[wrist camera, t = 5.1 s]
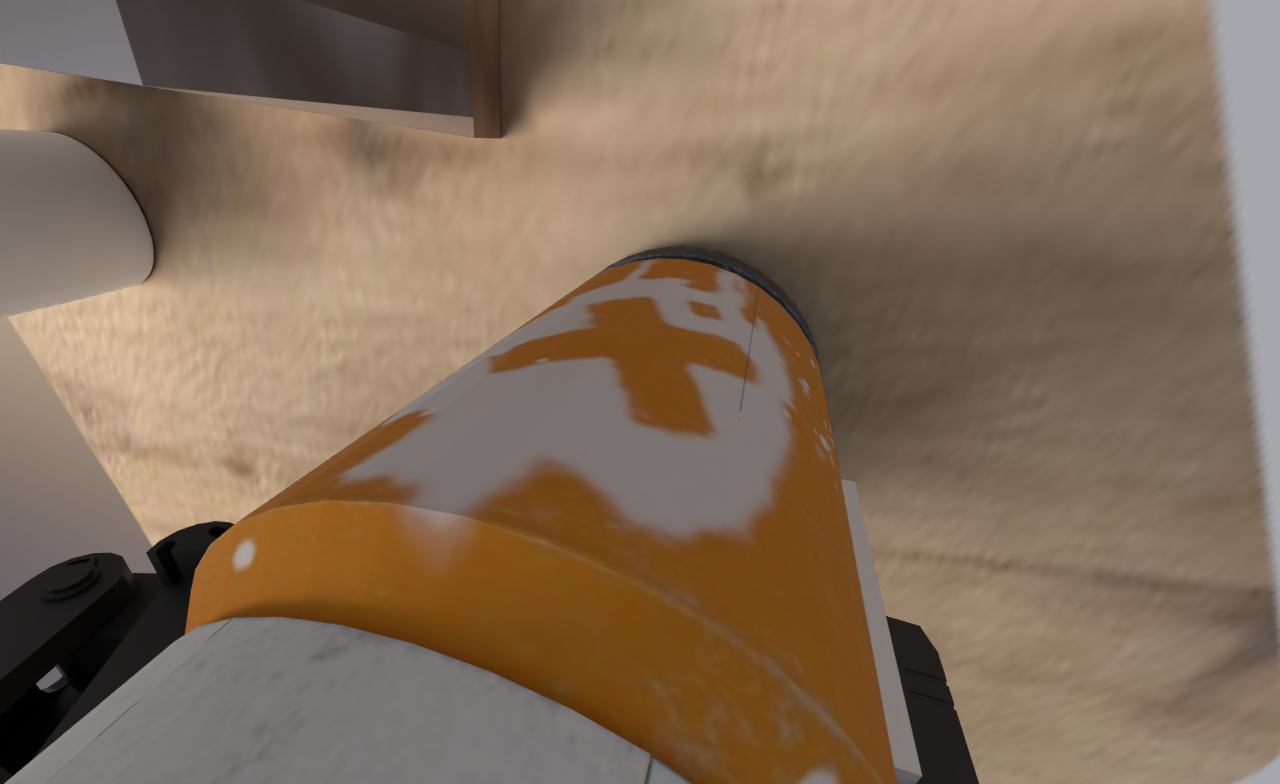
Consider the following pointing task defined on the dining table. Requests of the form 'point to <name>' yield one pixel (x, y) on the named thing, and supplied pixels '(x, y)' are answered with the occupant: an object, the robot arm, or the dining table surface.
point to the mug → (64, 224)
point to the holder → (281, 53)
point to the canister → (540, 575)
